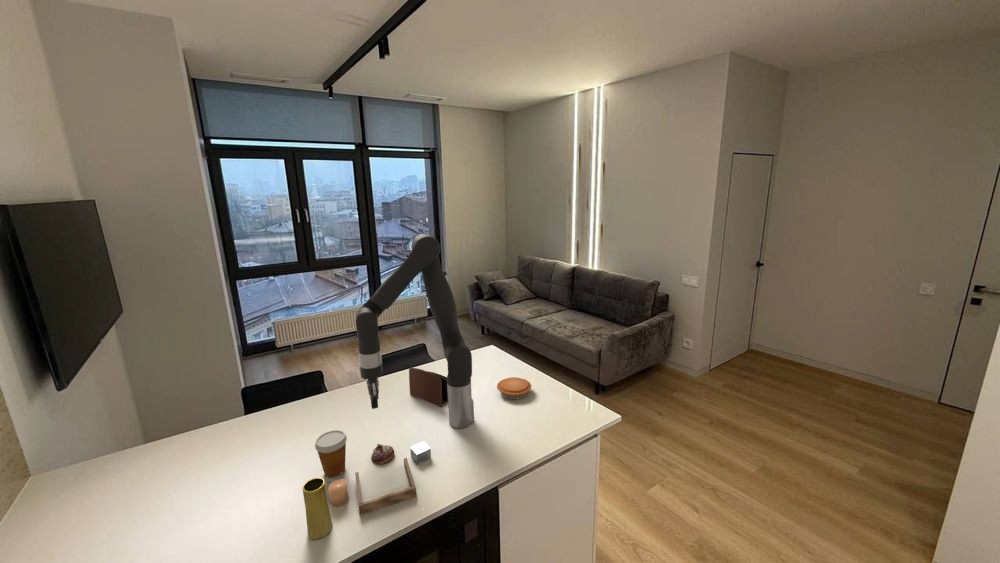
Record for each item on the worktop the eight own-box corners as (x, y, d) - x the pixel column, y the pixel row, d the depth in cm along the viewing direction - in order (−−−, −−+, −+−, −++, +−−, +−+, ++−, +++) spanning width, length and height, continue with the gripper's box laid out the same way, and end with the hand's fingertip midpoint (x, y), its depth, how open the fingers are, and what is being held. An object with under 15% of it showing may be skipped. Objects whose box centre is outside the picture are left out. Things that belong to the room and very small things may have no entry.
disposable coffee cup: (339, 483, 118) (334, 449, 115) (312, 479, 120) (307, 445, 117) (356, 462, 127) (352, 430, 124) (331, 459, 129) (326, 427, 126)
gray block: (424, 451, 132) (423, 441, 131) (431, 458, 128) (430, 448, 127) (411, 457, 129) (410, 447, 128) (417, 465, 125) (416, 454, 124)
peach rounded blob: (348, 491, 114) (346, 477, 113) (349, 503, 110) (347, 488, 109) (330, 496, 112) (328, 482, 111) (330, 509, 108) (328, 494, 107)
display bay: (407, 465, 125) (406, 457, 124) (416, 496, 112) (415, 487, 111) (356, 480, 119) (355, 472, 118) (359, 515, 106) (358, 506, 105)
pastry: (367, 457, 129) (365, 444, 128) (387, 447, 135) (385, 434, 134) (379, 468, 124) (377, 455, 123) (399, 457, 129) (398, 444, 128)
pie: (532, 401, 162) (532, 391, 161) (496, 402, 163) (496, 391, 161) (530, 384, 177) (530, 374, 176) (497, 384, 178) (497, 375, 177)
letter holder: (441, 407, 159) (439, 377, 156) (409, 394, 170) (407, 365, 167) (457, 397, 167) (455, 368, 164) (425, 385, 178) (423, 358, 175)
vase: (313, 521, 104) (306, 476, 101) (336, 519, 104) (329, 475, 101) (303, 540, 98) (296, 494, 95) (328, 538, 98) (321, 492, 95)
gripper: (384, 368, 128) (388, 414, 132) (379, 354, 140) (383, 396, 144) (361, 372, 125) (365, 419, 129) (358, 357, 137) (362, 401, 141)
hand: (374, 407), depth 136 cm, fingers closed
